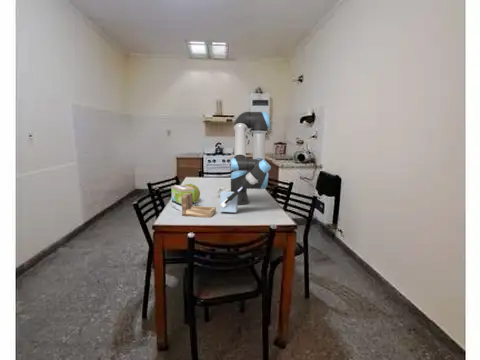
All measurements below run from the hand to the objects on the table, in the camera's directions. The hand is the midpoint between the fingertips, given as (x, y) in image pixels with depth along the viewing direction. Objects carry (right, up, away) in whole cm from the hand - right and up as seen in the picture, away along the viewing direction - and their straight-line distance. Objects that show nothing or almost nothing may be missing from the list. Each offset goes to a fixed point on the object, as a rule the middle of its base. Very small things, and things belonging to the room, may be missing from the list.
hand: (222, 205), depth 210 cm
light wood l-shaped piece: (-14, -5, -3) cm, 16 cm away
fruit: (-26, -1, +27) cm, 37 cm away
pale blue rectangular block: (+4, -4, 0) cm, 5 cm away
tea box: (-27, -3, +11) cm, 29 cm away
